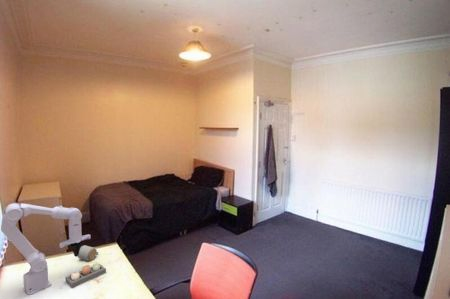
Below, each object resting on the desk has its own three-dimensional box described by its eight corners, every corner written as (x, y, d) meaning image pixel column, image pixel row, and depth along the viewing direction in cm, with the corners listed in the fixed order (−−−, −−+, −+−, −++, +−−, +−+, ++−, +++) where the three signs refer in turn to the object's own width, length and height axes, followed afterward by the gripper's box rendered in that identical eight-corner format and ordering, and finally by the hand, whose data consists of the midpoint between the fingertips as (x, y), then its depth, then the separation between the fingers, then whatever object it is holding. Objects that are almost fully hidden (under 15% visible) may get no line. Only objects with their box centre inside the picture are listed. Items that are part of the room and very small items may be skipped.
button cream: (73, 284, 123) (72, 277, 123) (70, 281, 126) (70, 274, 125) (80, 281, 126) (80, 273, 126) (78, 278, 128) (77, 271, 128)
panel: (71, 288, 121) (71, 283, 121) (65, 281, 126) (65, 277, 126) (106, 272, 134) (105, 268, 134) (99, 267, 139) (99, 263, 139)
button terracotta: (84, 277, 127) (83, 269, 127) (81, 274, 130) (80, 267, 129) (91, 274, 130) (91, 266, 130) (88, 271, 132) (88, 264, 132)
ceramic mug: (88, 263, 144) (88, 250, 143) (77, 261, 146) (76, 248, 145) (101, 254, 154) (101, 242, 153) (90, 252, 156) (90, 241, 155)
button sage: (94, 275, 132) (94, 268, 131) (91, 272, 134) (91, 265, 133) (101, 272, 134) (101, 265, 134) (98, 269, 137) (98, 263, 136)
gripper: (62, 237, 123) (63, 263, 124) (92, 228, 134) (93, 252, 135) (57, 234, 127) (58, 259, 128) (87, 225, 138) (88, 248, 139)
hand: (76, 255), depth 132 cm, fingers closed
